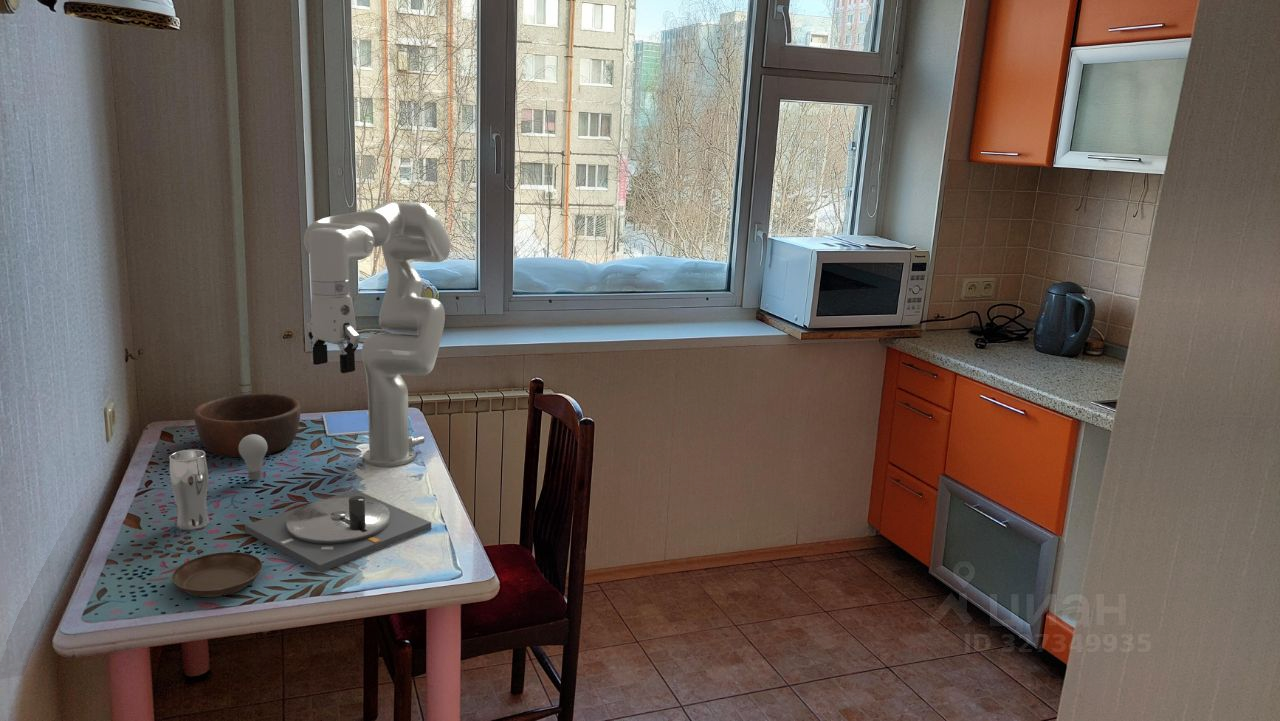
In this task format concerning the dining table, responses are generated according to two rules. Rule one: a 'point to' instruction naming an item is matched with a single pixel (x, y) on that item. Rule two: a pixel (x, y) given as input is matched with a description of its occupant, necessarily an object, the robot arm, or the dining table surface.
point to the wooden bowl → (247, 422)
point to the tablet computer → (346, 423)
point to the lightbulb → (253, 454)
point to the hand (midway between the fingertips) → (334, 367)
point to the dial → (338, 520)
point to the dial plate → (338, 553)
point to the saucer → (217, 573)
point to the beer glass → (190, 488)
